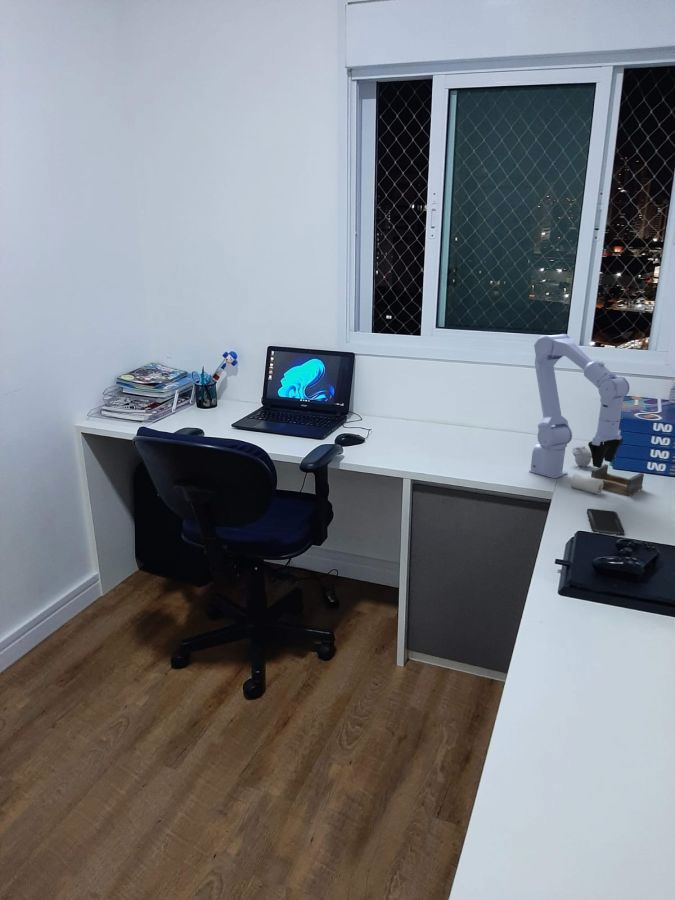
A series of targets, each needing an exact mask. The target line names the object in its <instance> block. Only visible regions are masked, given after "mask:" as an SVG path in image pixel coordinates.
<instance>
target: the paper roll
mask: <svg viewBox="0 0 675 900" xmlns="http://www.w3.org/2000/svg"><path fill="white" fill-rule="evenodd" d="M570 487H571V488H574V489H577V490H581V491H585V492H588V493H591V494H592V493H593V494H596V495H600V494H601V493H602V491H603V489H602V488H603V480H600V479H596V478H592V477H591V476H588V475H585V474H580V473H574V474H573V475H572V477H571V479H570ZM599 493H600V494H599Z"/></svg>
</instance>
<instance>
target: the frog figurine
mask: <svg viewBox="0 0 675 900" xmlns="http://www.w3.org/2000/svg"><path fill="white" fill-rule="evenodd" d="M572 455H573V456H574V462H575V464H576V465H578V466H579V467H582V466H584V467H587V466H588V465H590V463H591V462H592V454H591V451H590V449H589V448H587V447H586V446H585V445H582V444H578V445H577V446H574V447H572Z"/></svg>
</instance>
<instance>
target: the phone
mask: <svg viewBox="0 0 675 900" xmlns="http://www.w3.org/2000/svg"><path fill="white" fill-rule="evenodd" d="M586 515H587V519H588V518H589V519H588V523H589V522H590V523H589V526H590V530H591V529H592V530H591V532H592V533H595V532H599V533H598V534H603V533H604V535H612V534H616V535H615V536H624V535H625V530H624V529H625V528H624V526H623V525H622V522H621V520H620V516H619V515H618V513H617V511H614V510H605V509H596V508H587V509H586Z"/></svg>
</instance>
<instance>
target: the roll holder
mask: <svg viewBox="0 0 675 900" xmlns="http://www.w3.org/2000/svg"><path fill="white" fill-rule="evenodd" d="M608 469H609V464H602V466H601V467H600V468H598V467H595V468H594V469H592V470H591V474H590V477H592V478H596V479H600V480H603V488H602V490H603V489H604V491H607V492H612V493H615V494H618V493H619V494H618V495H622V494H623V495H622V496H625V495H626V497H629V496H630V497H632V496H633V495H635V494H637V493H638V491H639V490H640V491H642V490H643V481H644V476H645V475H644V474H645V473H642V472H640V473H638V474H635V475H634V476H632V477H630V478H627V477H623V476H619V475H615V474H611V473H608ZM641 489H642V490H641ZM640 491H639V492H640ZM636 492H637V493H636ZM634 493H635V494H634ZM631 495H632V496H631Z"/></svg>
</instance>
